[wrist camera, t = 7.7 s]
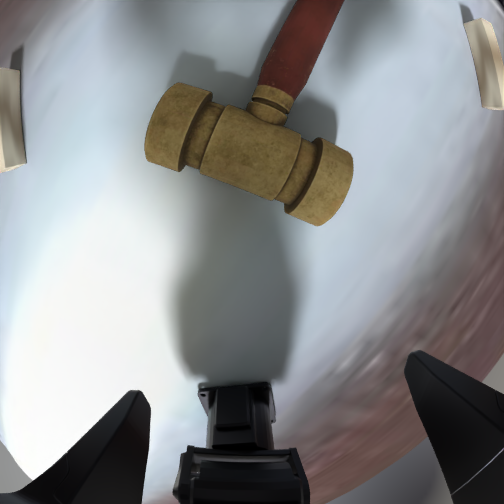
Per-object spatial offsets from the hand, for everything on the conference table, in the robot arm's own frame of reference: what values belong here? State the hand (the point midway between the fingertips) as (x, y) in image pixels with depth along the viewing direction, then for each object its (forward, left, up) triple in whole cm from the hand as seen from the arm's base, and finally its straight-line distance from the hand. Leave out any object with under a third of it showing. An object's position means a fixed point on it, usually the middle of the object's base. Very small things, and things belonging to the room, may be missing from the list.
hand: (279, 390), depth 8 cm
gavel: (+14, -5, -12) cm, 19 cm away
